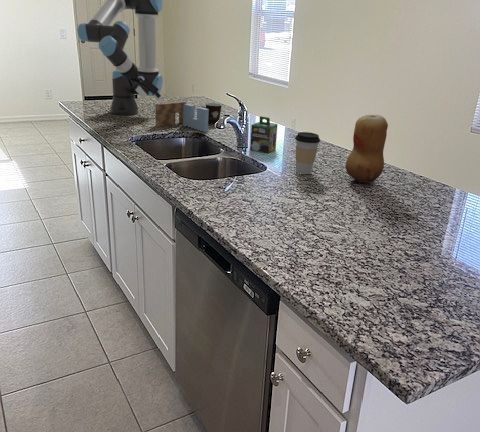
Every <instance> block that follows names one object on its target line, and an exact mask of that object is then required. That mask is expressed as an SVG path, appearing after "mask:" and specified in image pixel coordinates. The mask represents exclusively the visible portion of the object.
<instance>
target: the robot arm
mask: <svg viewBox="0 0 480 432" xmlns="http://www.w3.org/2000/svg"><path fill="white" fill-rule="evenodd" d="M125 10H133V11H134V15H135V16H136V17H137V20H138V24H137V25H138V55H139V56H138V58H139V61H138V62H139V64H138V65H139V66H136V64H135V63H134V62H133V60H132V59H131V57H130V56H129V55H128V54H127V53H126V52H125V51H124V48H125V46H126V43H127V40H128V39H129V35H130V30H131V29H130V27H129V25H128V24H127V23H126V22H124V21H122V20H117V21H114V20H115V19H116V17H117V16H118V14H119V13H122V12H123V11H125ZM162 10H163V0H105V2H104V3H103V4H102V6H101V7H100V8H99V10H97V12H96V13H95V14H94V15H93V17H92V18H91V19H90V20H89V22H87V23H86V22H83V23H79V25H78V27H77V35H78V38H79V39H80V41H81V42H88V43H98V49H99V51H101V53H102V55H103V56H105V58H107V59H108V61H109V62H110V63H111V64H112V65H113V66H114V67H115V68H116V70H115V69H114V70H113V72H112V78H111V80H112V101H111V104H110V109H109V110H110V114H114V115H119V116H120V115H121V116H132V115H133V116H134V115H138V114H139V107H138V104H137V101H136V95H138V96H140V97H141V98H142V99H145V98H146V97H147V96H149V97H154V98H155V99H156V101H157V103H158V104H160V103H164V100H165V99H164V97H163V96H162V94H160V93H161V90H162V87H163V83H164V81H163V80H164V79H163V75H162V74H160V73H159V71H160V70H159V69H158V67H157V65H156V64H157V57H156V54H157V50H156V49H157V48H156V46H157V45H156V44H157V43H156V40H157V39H156V18H157V17H158V16H159V12H162ZM113 21H114V23H113ZM112 23H113V25H111V24H112Z"/></svg>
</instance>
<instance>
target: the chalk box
mask: <svg viewBox="0 0 480 432" xmlns="http://www.w3.org/2000/svg"><path fill="white" fill-rule="evenodd" d="M263 120H266V122H265V121H263ZM250 128H251V129H250V140H249V141H250V145H249V151H254V152H259V153H263V154H269V153H271V152H273V151H274V150H276V148H277V138H278V137H277V135H278V123H273V122H271V119H270V117H267V116H259V121H258V122H255V123H253V124H251V127H250Z"/></svg>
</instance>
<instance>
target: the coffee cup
mask: <svg viewBox="0 0 480 432" xmlns="http://www.w3.org/2000/svg"><path fill="white" fill-rule="evenodd" d="M294 140H296V142H295V144H296V145H295V173H296V172H297V173H296V174H298V173H301V174H310V173H311V174H312V172H313V167H314V164H315V161H316V156H317V152H318V147H319V143H320V142H321V138H320V136H319V134H317V133H313V132H307V131H303V132H298V133H297V135H296V136H295V137H294ZM301 174H300V175H301ZM311 174H310V175H311Z"/></svg>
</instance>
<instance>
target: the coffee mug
mask: <svg viewBox="0 0 480 432" xmlns="http://www.w3.org/2000/svg"><path fill="white" fill-rule="evenodd" d="M222 106H223V104H221V103H219V102H218V103H217V102H207V103H205V106H201V107H202V108H206V109H209V115H208V125H214V124H215V123H216V122H217V121H218V120H219V121H220V118H221V112H222V108H223V107H222ZM215 125H216V124H215Z"/></svg>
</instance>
